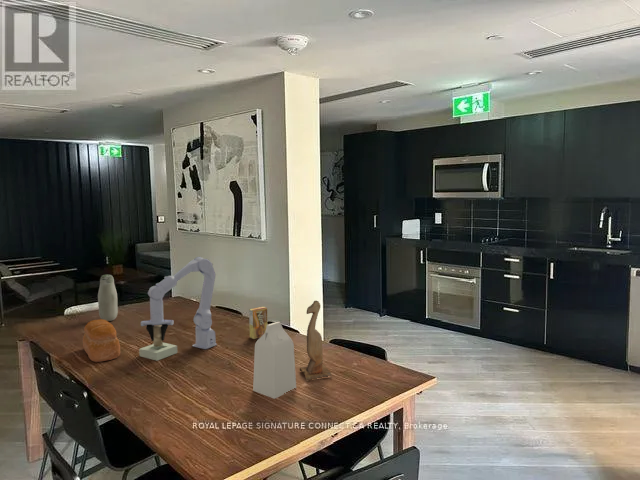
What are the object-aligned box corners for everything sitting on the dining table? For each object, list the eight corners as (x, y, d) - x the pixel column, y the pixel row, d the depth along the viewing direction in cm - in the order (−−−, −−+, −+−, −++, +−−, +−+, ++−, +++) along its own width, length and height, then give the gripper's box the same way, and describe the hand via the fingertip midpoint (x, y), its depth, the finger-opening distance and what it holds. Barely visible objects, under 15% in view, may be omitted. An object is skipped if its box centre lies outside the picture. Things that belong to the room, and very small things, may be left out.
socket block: (177, 352, 221) (177, 345, 221) (156, 360, 211) (156, 353, 211) (160, 348, 228) (160, 341, 227) (139, 356, 217) (139, 348, 217)
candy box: (263, 334, 250) (263, 306, 248) (268, 336, 247) (267, 307, 245) (249, 337, 244) (248, 308, 243) (253, 339, 241) (252, 310, 239)
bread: (90, 364, 207) (88, 331, 206) (81, 349, 229) (79, 318, 227) (122, 358, 215) (121, 326, 213) (111, 343, 236) (109, 314, 235)
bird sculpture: (297, 372, 197) (294, 299, 193) (323, 368, 201) (321, 295, 197) (306, 383, 186) (303, 305, 182) (333, 378, 190) (331, 301, 186)
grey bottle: (95, 322, 275) (93, 275, 273) (108, 317, 285) (105, 272, 282) (109, 323, 273) (107, 276, 270) (121, 319, 282) (119, 273, 279)
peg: (163, 343, 221) (162, 325, 221) (161, 346, 217) (160, 327, 217) (154, 344, 221) (154, 325, 220) (152, 346, 217) (152, 327, 216)
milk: (275, 380, 188) (274, 317, 185) (296, 388, 180) (295, 322, 178) (253, 390, 178) (251, 324, 176) (274, 398, 171) (273, 329, 169)
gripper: (174, 309, 222) (175, 337, 223) (143, 310, 221) (144, 338, 222) (171, 313, 215) (172, 341, 216) (138, 313, 214) (140, 342, 215)
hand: (158, 340), depth 219 cm, fingers closed on peg, 4 cm apart
